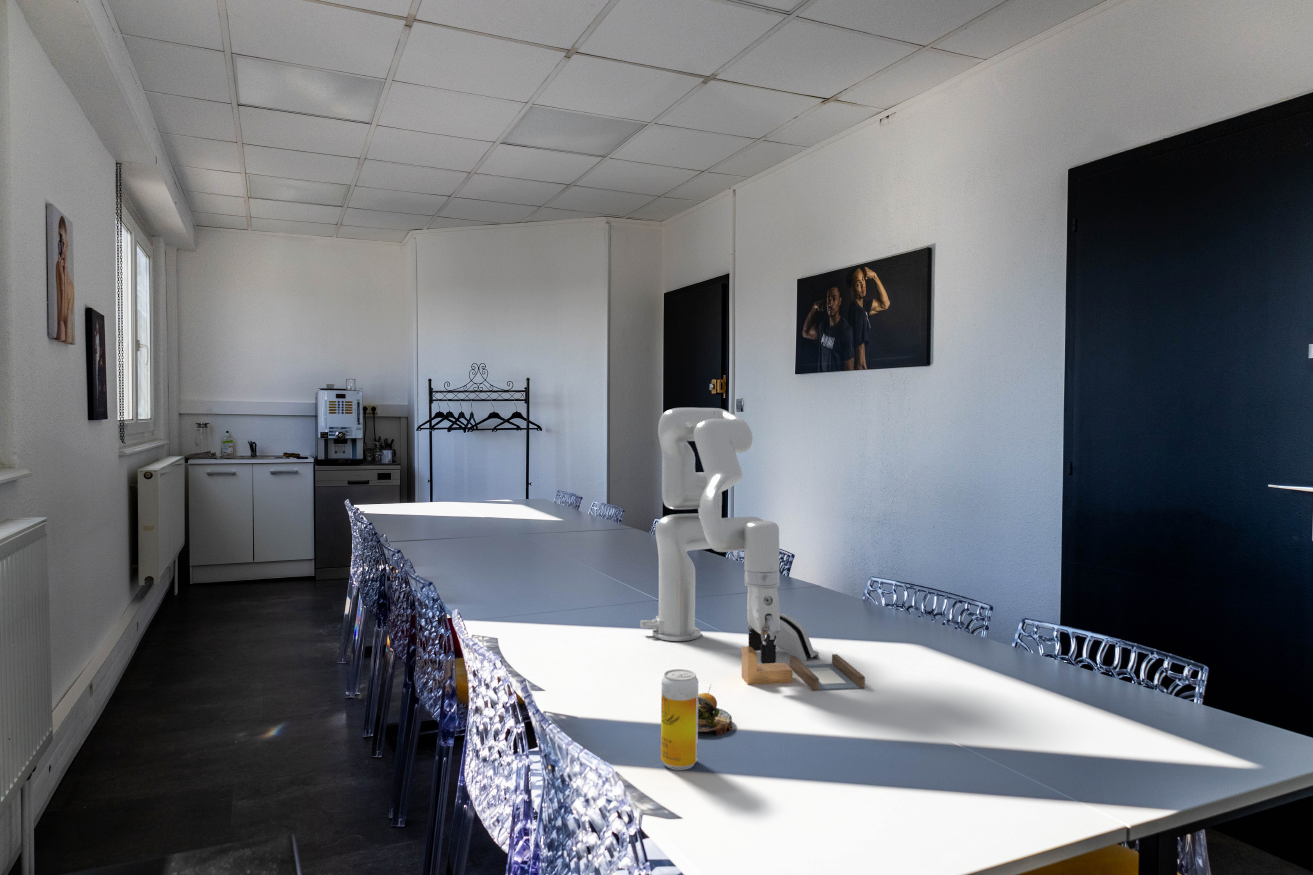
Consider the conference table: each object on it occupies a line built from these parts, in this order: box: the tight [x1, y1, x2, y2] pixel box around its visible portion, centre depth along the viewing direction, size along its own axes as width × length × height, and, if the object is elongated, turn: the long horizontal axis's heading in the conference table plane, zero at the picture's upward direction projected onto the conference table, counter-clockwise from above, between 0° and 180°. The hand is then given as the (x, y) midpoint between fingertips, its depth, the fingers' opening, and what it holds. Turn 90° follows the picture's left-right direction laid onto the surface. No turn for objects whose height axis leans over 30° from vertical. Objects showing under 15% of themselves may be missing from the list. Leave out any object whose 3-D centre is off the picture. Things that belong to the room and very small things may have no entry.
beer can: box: [660, 668, 699, 771], centre depth 134 cm, size 6×6×15 cm
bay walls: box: [789, 653, 866, 692], centre depth 179 cm, size 11×16×2 cm
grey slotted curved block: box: [765, 612, 821, 662], centre depth 198 cm, size 17×5×10 cm, turn 21°
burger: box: [698, 685, 733, 736], centre depth 151 cm, size 12×12×8 cm
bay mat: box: [804, 663, 860, 691], centre depth 179 cm, size 9×16×1 cm, turn 9°
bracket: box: [741, 645, 794, 686], centre depth 177 cm, size 10×5×7 cm, turn 99°
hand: (761, 656), depth 176 cm, fingers open, 9 cm apart
